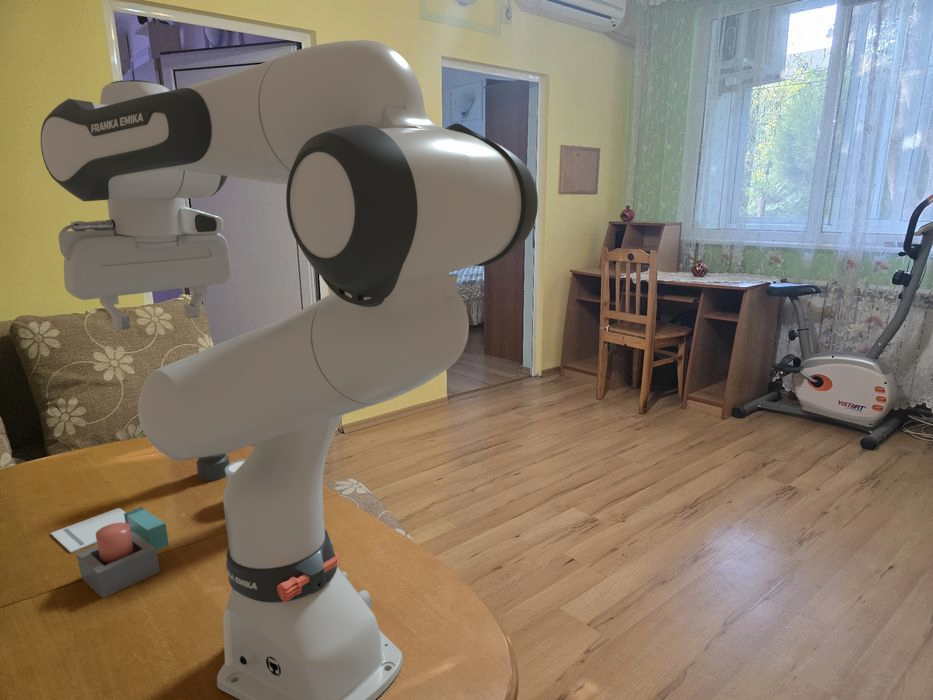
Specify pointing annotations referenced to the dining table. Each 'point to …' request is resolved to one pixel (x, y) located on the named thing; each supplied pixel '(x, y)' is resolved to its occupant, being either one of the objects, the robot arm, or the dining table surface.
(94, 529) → the sketch sheet
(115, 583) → the button box
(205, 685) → the dining table surface
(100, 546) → the button
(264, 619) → the robot arm
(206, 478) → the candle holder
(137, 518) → the teal rectangular block
